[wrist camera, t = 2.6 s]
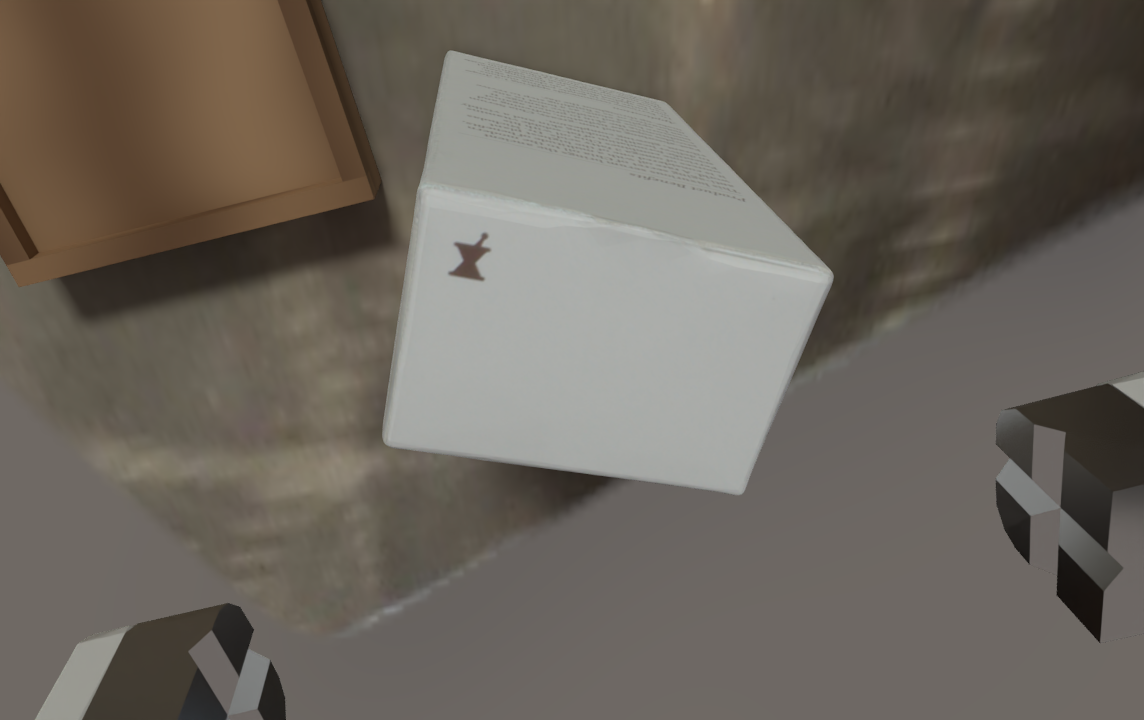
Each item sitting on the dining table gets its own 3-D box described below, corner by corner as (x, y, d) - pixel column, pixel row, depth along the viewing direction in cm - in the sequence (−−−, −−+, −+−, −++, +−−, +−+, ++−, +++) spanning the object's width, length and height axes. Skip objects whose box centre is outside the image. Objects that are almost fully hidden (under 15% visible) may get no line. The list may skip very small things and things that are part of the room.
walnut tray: (244, -228, 18) (222, -241, 17) (381, 180, 23) (374, 198, 21) (-164, -122, 19) (-221, -125, 17) (49, 262, 23) (18, 287, 21)
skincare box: (419, 207, 23) (365, 451, 13) (446, 45, 21) (410, 171, 11) (632, 251, 24) (748, 507, 14) (675, 100, 22) (848, 263, 12)
